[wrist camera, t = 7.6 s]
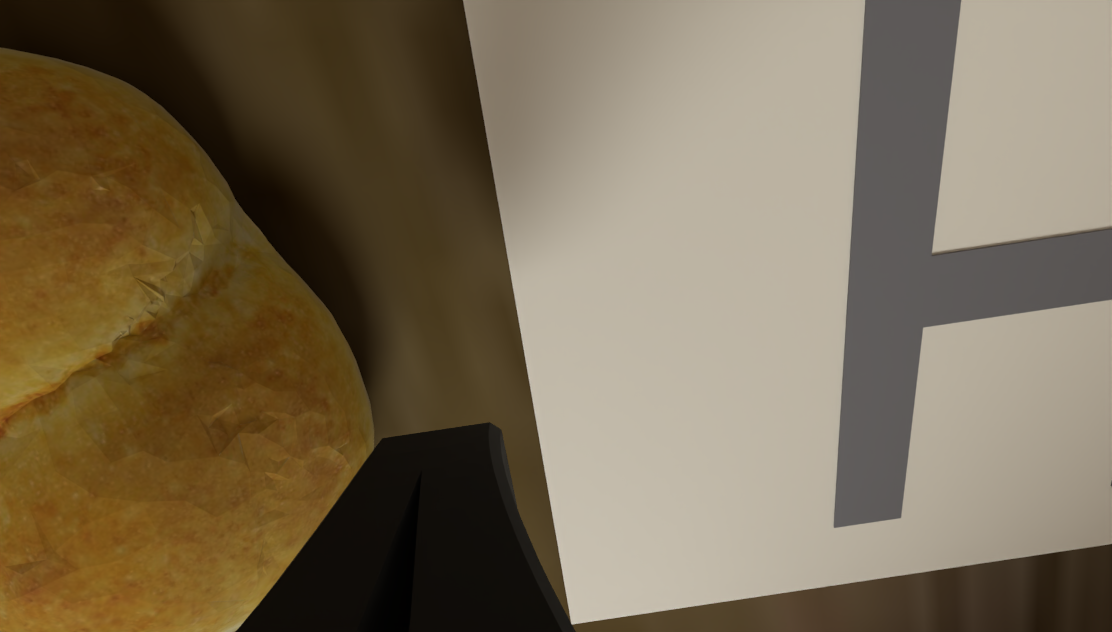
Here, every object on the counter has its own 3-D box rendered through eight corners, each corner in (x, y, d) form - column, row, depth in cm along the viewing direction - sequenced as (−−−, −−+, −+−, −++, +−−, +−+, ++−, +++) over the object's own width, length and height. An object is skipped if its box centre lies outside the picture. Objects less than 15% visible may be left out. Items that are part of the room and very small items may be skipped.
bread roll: (37, -107, 9) (-290, -136, 5) (460, 430, 12) (446, 629, 9) (-426, 238, 10) (-934, 408, 6) (84, 625, 14) (-57, 865, 10)
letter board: (1395, 488, 14) (1415, 500, 14) (570, 610, 14) (572, 625, 14) (1805, -303, 9) (1852, -312, 8) (446, -104, 9) (445, -105, 8)
